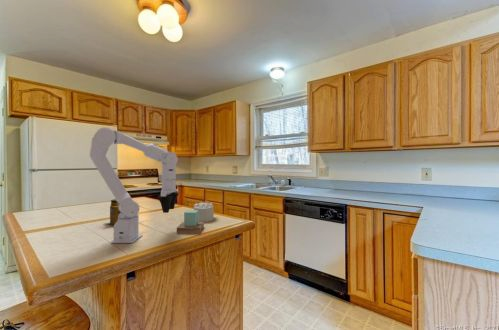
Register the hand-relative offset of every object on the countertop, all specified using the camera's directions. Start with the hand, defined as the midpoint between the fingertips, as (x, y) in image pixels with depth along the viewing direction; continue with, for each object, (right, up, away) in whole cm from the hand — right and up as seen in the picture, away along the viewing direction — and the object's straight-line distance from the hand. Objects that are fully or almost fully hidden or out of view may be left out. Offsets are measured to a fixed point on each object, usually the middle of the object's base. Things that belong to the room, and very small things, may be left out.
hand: (168, 210), depth 104 cm
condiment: (-30, -9, +12) cm, 34 cm away
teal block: (+9, -7, +3) cm, 12 cm away
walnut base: (+9, -10, +3) cm, 14 cm away
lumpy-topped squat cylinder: (+11, -10, +24) cm, 28 cm away
